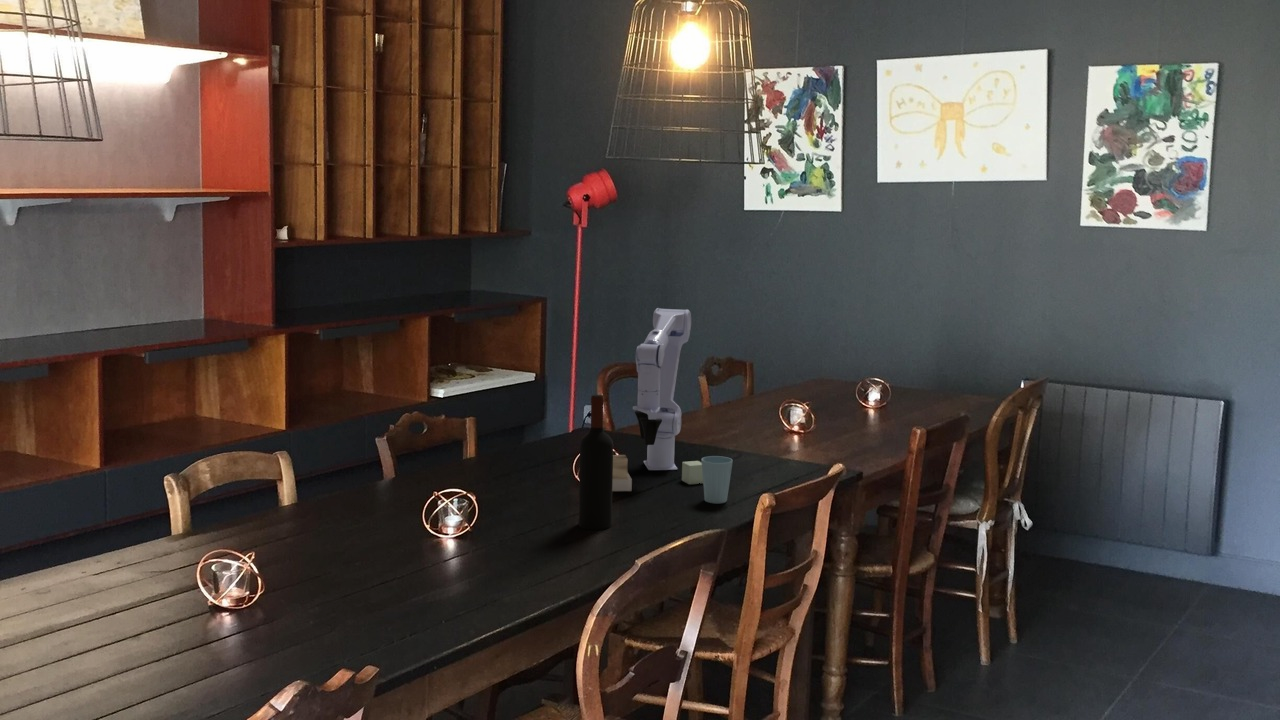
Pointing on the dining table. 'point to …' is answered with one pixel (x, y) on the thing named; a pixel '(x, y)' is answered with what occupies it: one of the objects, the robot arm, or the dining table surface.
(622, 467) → the oak block
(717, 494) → the cup
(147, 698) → the dining table surface
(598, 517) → the wine bottle
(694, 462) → the sage block
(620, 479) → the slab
